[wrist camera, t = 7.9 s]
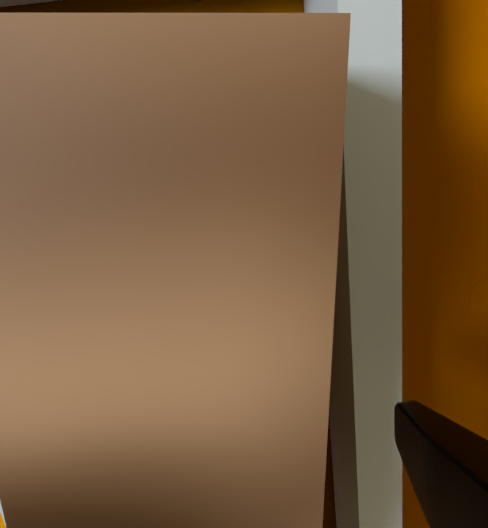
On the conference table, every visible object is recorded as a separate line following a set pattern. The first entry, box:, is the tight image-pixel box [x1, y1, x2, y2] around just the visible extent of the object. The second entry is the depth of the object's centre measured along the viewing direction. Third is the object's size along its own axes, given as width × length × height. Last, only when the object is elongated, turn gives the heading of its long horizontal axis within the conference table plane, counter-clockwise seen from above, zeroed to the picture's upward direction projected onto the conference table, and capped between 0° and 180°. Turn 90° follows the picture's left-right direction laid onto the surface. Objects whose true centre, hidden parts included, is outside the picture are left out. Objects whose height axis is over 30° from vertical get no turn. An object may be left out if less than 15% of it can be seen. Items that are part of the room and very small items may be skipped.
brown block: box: [0, 13, 351, 528], centre depth 9 cm, size 15×5×4 cm, turn 1°
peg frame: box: [0, 0, 402, 528], centre depth 12 cm, size 21×10×3 cm, turn 6°
